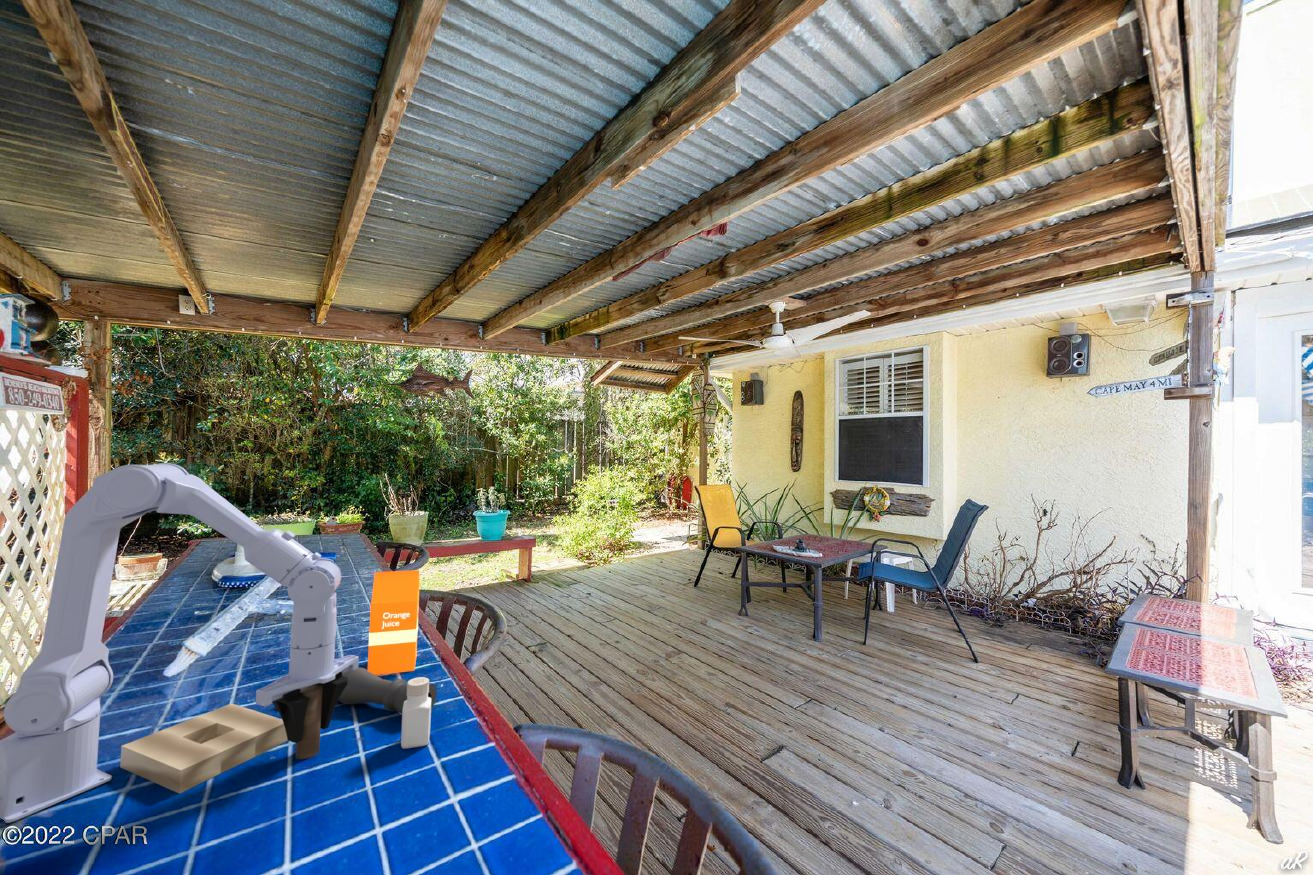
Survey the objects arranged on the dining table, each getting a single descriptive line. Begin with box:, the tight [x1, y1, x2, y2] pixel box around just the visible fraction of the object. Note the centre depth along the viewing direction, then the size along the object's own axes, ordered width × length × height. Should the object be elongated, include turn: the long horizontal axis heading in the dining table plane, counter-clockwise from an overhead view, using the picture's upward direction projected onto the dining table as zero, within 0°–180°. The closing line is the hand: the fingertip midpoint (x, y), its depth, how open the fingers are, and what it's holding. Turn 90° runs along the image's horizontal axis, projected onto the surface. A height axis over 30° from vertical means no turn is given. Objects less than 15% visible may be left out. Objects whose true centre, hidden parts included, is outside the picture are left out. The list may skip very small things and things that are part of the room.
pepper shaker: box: [400, 676, 432, 749], centre depth 83 cm, size 4×4×10 cm
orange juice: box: [367, 569, 420, 676], centre depth 112 cm, size 8×9×20 cm
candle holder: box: [311, 667, 438, 716], centre depth 95 cm, size 6×6×25 cm
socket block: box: [119, 702, 288, 794], centre depth 79 cm, size 14×14×3 cm
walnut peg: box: [295, 685, 323, 760], centre depth 80 cm, size 3×3×10 cm
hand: (308, 733), depth 79 cm, fingers open, 4 cm apart
